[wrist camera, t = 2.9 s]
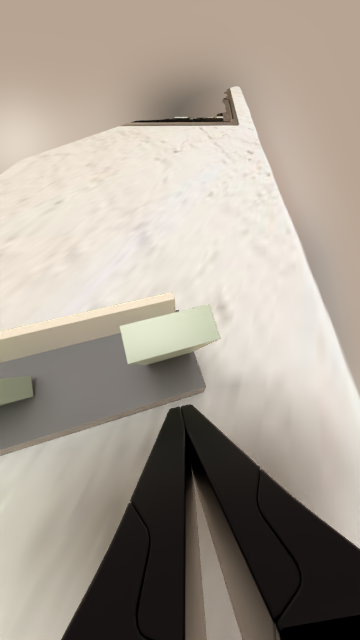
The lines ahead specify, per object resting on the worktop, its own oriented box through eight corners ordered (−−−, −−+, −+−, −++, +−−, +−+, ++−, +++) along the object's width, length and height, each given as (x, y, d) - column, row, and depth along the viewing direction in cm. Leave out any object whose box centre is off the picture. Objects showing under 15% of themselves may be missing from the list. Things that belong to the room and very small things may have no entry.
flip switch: (190, 352, 17) (220, 338, 8) (146, 365, 16) (127, 363, 8) (186, 335, 17) (209, 304, 9) (141, 346, 17) (119, 326, 8)
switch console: (203, 391, 17) (210, 374, 13) (-12, 459, 15) (-93, 465, 11) (178, 320, 22) (178, 288, 17) (7, 363, 19) (-45, 339, 15)
